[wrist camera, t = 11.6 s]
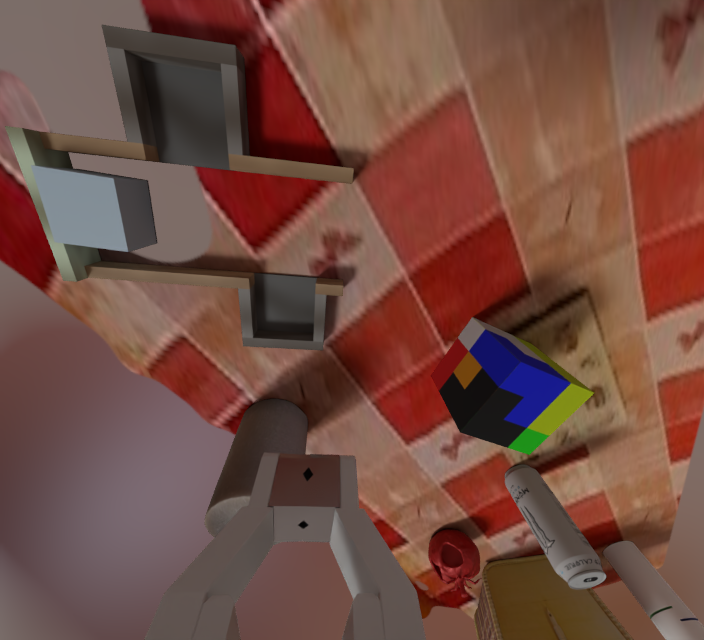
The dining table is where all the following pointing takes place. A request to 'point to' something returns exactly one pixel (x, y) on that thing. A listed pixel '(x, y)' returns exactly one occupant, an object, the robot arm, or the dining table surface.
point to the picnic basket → (539, 605)
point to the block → (96, 208)
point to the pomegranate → (454, 558)
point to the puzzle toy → (505, 388)
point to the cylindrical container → (653, 593)
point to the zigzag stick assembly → (195, 150)
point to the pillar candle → (254, 455)
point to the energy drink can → (554, 529)
